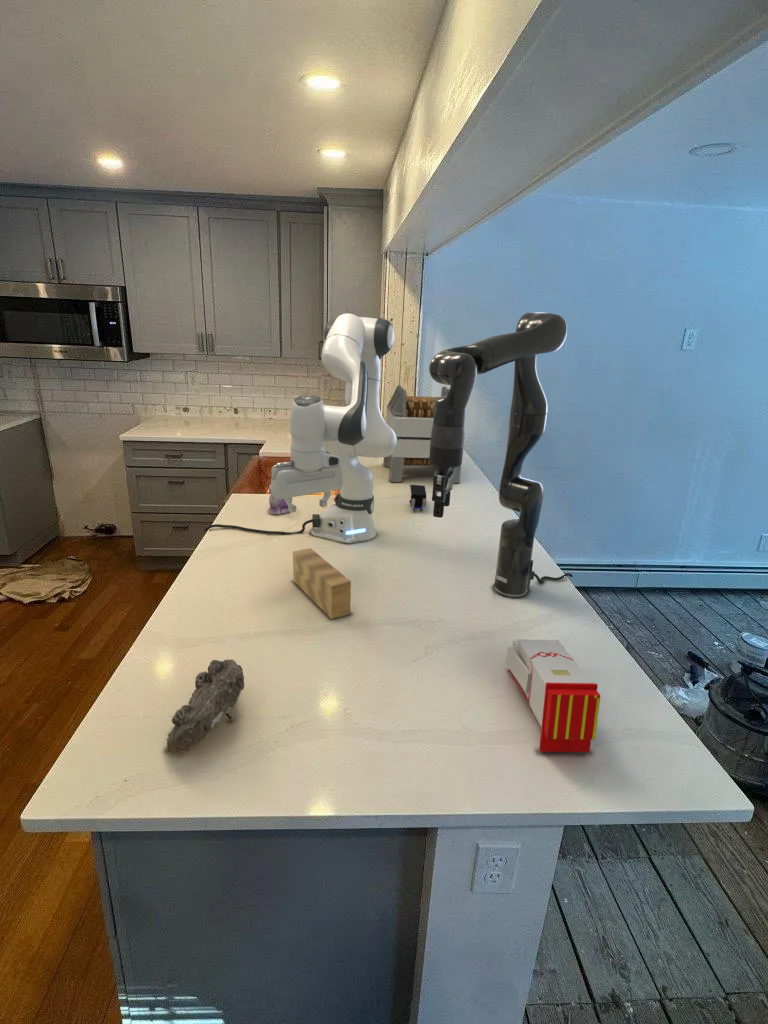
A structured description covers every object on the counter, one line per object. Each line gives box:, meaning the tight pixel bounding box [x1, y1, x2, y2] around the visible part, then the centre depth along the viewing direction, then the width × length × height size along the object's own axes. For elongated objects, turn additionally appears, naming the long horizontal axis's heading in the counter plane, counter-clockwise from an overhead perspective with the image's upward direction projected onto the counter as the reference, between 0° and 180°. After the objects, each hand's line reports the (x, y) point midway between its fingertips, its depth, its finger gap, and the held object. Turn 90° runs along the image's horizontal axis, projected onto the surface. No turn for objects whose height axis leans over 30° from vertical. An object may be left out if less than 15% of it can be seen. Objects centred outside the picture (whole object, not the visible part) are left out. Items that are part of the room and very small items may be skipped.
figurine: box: [268, 476, 293, 515], centre depth 214 cm, size 9×10×15 cm
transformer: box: [383, 384, 462, 484], centre depth 268 cm, size 34×33×41 cm
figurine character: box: [408, 484, 428, 512], centre depth 226 cm, size 7×8×15 cm
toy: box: [505, 638, 602, 753], centre depth 114 cm, size 12×13×30 cm
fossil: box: [166, 658, 245, 754], centre depth 106 cm, size 22×10×15 cm
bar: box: [292, 547, 352, 620], centre depth 153 cm, size 24×6×9 cm, turn 32°
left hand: (308, 509), depth 152 cm, fingers open, 8 cm apart
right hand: (441, 511), depth 133 cm, fingers open, 8 cm apart
